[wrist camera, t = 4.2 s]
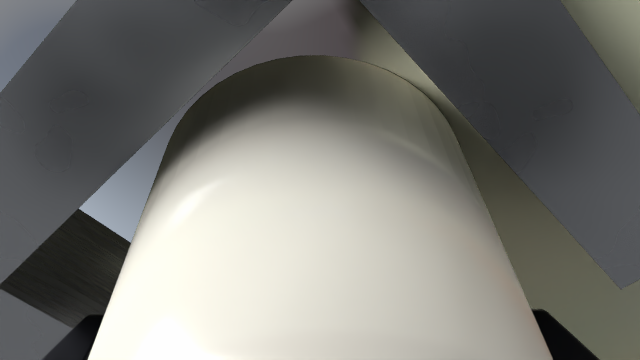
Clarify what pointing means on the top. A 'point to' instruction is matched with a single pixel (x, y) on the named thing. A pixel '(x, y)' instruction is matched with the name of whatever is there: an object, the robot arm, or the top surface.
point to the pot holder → (212, 55)
